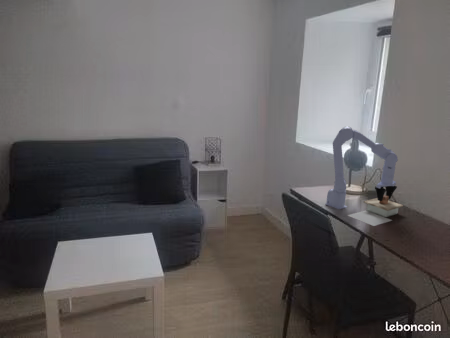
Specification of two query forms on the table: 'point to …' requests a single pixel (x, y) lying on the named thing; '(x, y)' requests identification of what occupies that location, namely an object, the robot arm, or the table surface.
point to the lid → (383, 203)
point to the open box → (382, 211)
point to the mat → (369, 218)
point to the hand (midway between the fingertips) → (384, 199)
